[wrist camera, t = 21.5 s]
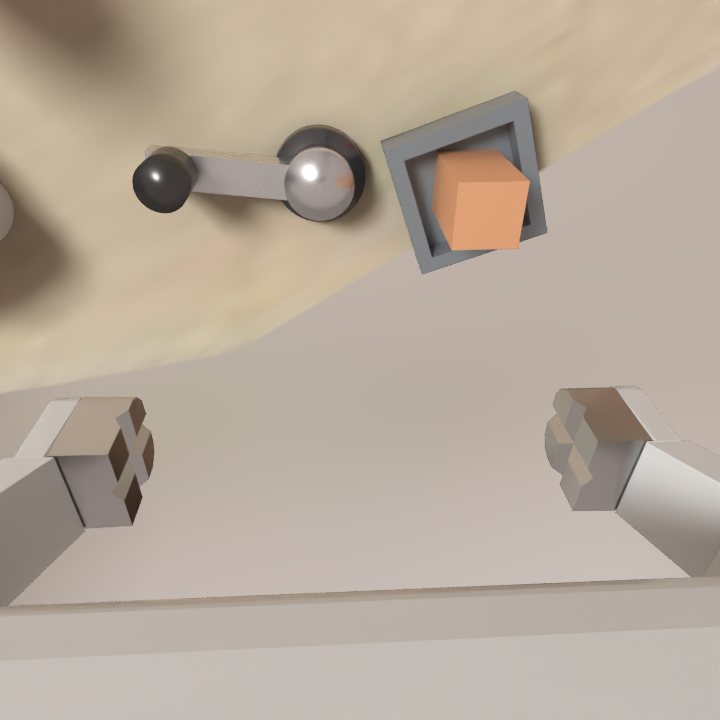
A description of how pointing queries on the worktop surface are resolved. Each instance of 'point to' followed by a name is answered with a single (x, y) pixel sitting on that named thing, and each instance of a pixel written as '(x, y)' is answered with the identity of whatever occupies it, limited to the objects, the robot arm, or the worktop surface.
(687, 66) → the worktop surface
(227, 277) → the worktop surface
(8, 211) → the grey animal paw
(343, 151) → the crank base
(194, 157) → the crank
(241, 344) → the worktop surface
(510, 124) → the tray
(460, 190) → the block
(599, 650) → the robot arm
